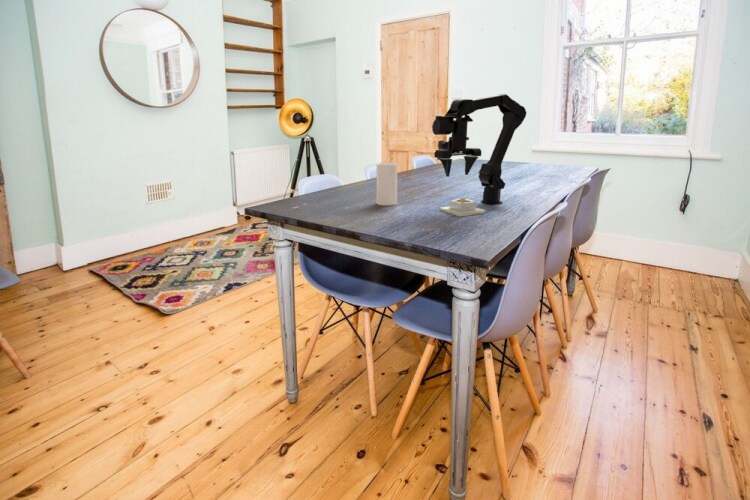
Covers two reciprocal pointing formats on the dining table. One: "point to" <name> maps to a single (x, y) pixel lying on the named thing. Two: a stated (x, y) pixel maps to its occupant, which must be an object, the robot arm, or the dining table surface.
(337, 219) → the dining table surface
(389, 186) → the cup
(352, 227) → the dining table surface
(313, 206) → the dining table surface
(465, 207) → the link
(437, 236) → the dining table surface
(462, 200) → the keeper
